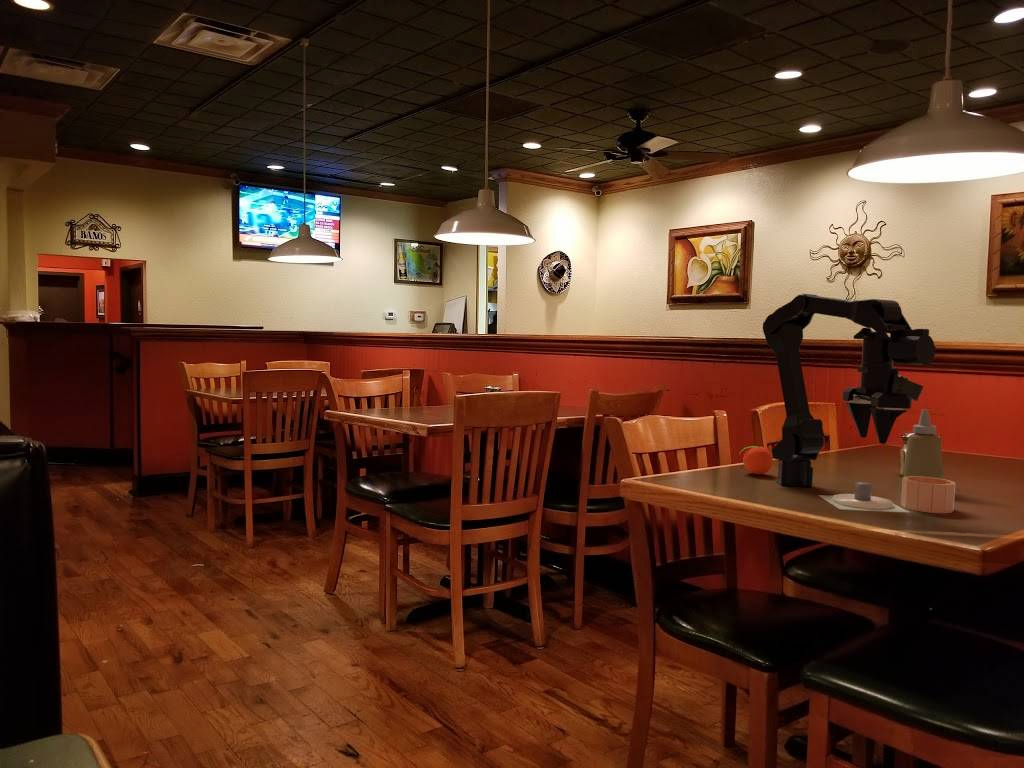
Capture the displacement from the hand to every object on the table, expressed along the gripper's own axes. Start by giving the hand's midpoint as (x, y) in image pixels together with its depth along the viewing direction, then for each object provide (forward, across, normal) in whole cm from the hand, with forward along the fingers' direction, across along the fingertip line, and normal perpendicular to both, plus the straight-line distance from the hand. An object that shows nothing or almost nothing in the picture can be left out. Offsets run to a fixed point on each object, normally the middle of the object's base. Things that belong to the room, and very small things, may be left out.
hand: (872, 440), depth 155 cm
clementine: (+13, +32, +14) cm, 38 cm away
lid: (+13, -1, +2) cm, 13 cm away
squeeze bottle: (+13, +21, -20) cm, 32 cm away
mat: (+13, -1, +2) cm, 13 cm away
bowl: (+13, -3, -10) cm, 17 cm away
